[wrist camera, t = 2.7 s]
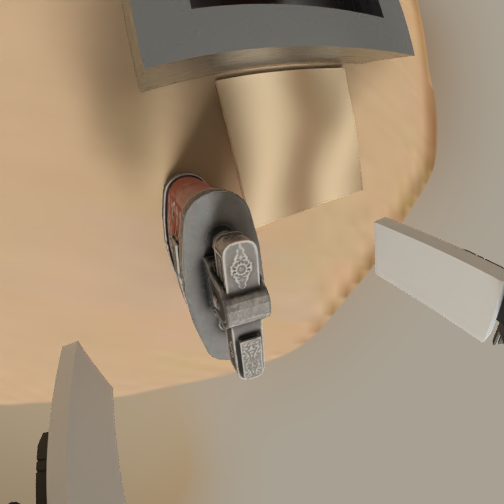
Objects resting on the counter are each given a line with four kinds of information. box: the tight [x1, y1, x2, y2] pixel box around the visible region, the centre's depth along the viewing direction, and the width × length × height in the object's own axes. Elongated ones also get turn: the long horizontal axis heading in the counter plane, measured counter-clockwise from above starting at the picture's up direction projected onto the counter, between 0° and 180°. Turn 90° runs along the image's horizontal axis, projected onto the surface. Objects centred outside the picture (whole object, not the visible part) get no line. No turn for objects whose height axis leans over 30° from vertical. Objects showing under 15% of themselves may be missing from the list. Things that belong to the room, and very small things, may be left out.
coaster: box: [215, 68, 363, 228], centre depth 19 cm, size 10×10×1 cm
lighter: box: [162, 172, 271, 380], centre depth 14 cm, size 8×3×10 cm, turn 4°
